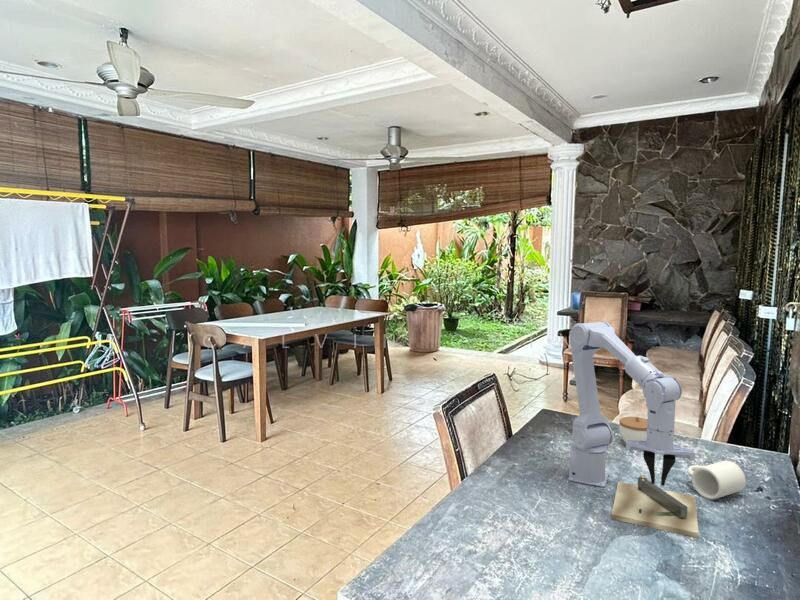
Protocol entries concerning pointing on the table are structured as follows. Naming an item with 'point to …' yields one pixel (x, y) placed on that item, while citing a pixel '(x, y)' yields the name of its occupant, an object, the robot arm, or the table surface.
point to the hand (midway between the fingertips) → (657, 483)
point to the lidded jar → (633, 428)
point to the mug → (717, 479)
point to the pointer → (662, 497)
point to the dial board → (653, 511)
